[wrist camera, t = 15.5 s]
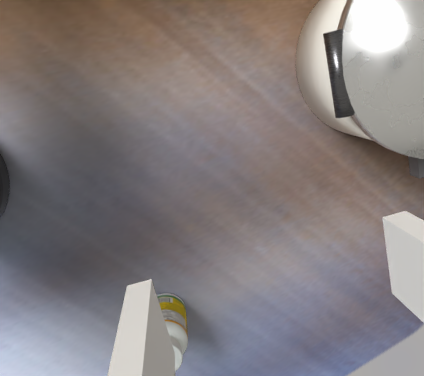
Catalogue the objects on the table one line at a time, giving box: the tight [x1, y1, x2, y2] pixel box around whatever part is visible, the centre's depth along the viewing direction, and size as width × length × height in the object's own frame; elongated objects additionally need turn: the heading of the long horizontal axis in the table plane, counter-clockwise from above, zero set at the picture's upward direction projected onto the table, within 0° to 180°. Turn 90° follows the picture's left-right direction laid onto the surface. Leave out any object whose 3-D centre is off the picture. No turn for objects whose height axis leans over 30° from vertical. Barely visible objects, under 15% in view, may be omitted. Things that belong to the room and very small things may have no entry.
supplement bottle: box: [157, 293, 188, 371], centre depth 47 cm, size 5×5×10 cm
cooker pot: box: [296, 0, 424, 178], centre depth 40 cm, size 18×24×12 cm
